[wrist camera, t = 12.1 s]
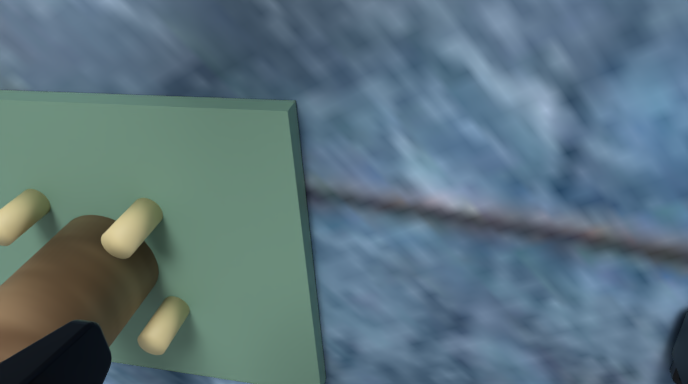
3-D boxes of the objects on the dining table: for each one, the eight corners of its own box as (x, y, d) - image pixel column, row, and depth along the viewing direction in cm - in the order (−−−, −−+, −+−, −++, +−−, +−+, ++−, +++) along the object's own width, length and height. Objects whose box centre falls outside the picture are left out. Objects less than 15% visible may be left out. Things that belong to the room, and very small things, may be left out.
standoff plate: (295, 100, 21) (264, 142, 18) (325, 378, 29) (308, 436, 27) (-120, 85, 25) (-198, 117, 22) (11, 332, 34) (-33, 378, 31)
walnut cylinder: (170, 249, 25) (-57, 547, 15) (144, 311, 28) (-63, 599, 17) (71, 196, 25) (-238, 465, 14) (54, 265, 28) (-214, 532, 17)
